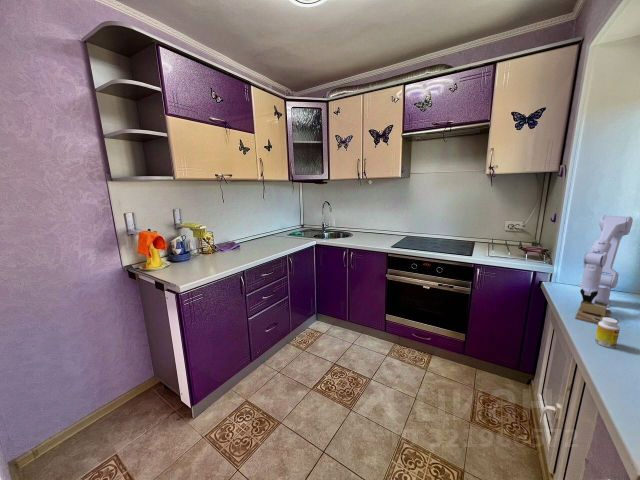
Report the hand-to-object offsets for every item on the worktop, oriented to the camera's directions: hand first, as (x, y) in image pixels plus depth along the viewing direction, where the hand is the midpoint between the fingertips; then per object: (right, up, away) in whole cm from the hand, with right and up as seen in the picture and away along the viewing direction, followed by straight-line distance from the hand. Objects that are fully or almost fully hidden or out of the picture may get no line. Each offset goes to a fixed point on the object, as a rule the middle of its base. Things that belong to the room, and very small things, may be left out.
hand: (586, 305), depth 124 cm
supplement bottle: (-17, -9, -24) cm, 31 cm away
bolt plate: (0, -4, -3) cm, 5 cm away
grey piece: (0, -3, -5) cm, 6 cm away
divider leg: (-2, -3, -4) cm, 5 cm away
